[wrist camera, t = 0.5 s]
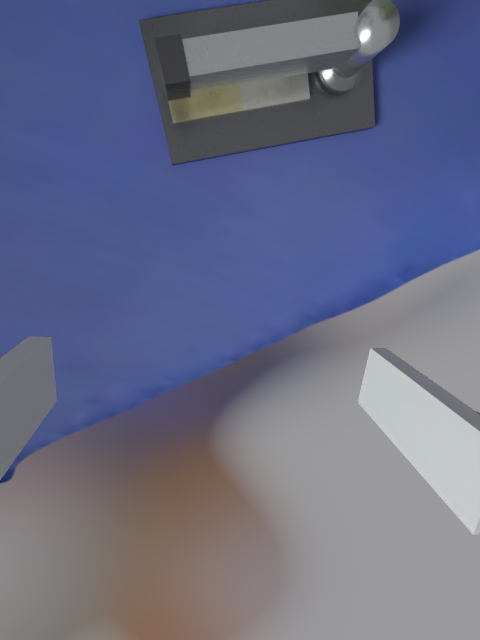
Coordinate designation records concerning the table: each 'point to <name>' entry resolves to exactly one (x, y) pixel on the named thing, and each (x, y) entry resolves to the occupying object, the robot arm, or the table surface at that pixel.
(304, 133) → the plate
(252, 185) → the table surface
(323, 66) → the grey long bar
